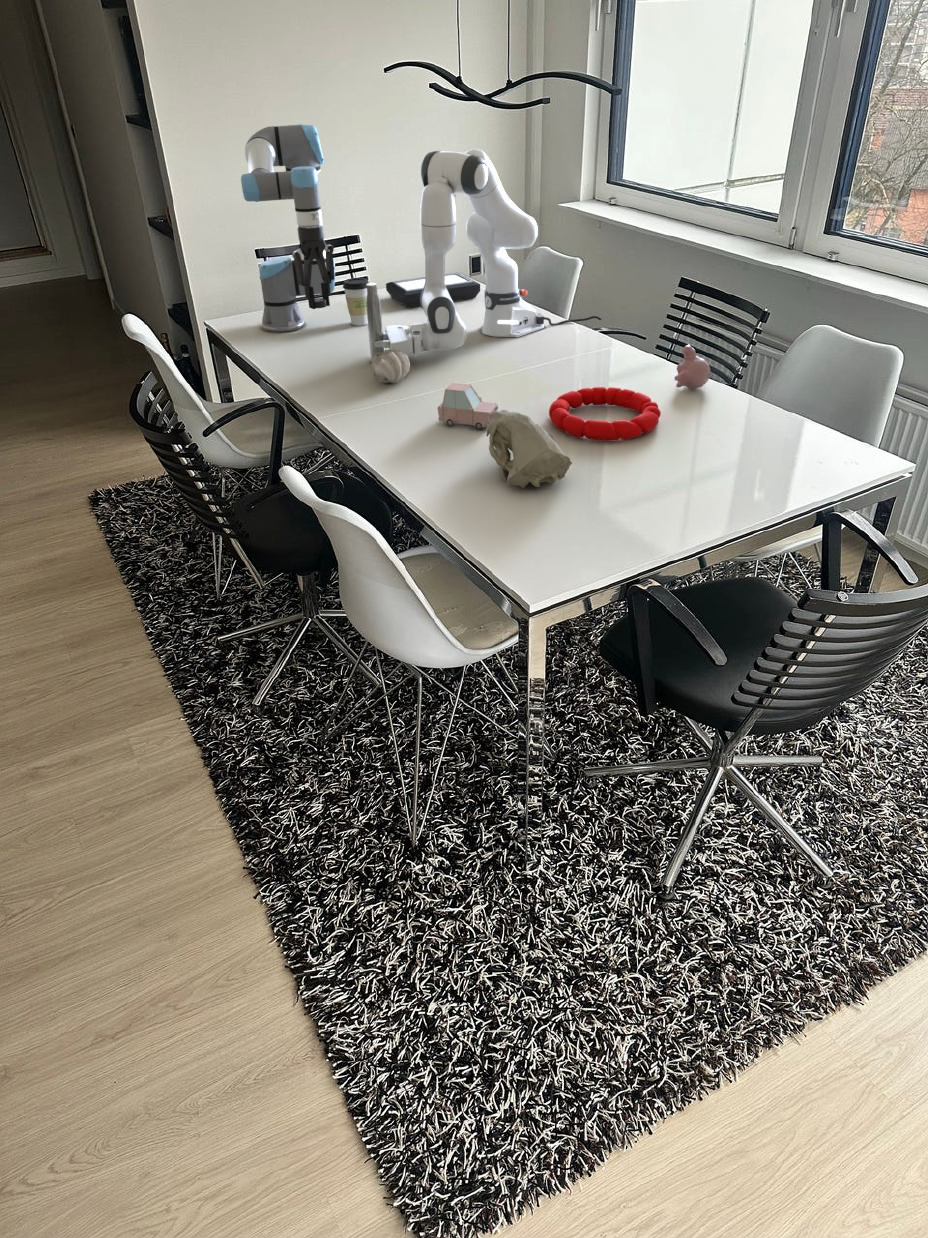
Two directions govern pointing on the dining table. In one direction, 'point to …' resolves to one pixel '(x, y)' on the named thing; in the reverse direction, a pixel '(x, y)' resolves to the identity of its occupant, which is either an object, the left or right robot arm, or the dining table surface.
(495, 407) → the toy car
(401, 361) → the seashell
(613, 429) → the decorative ring
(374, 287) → the bottle
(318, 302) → the cap
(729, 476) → the dining table surface
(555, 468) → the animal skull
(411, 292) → the electronic device
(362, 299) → the coffee cup
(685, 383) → the figurine
